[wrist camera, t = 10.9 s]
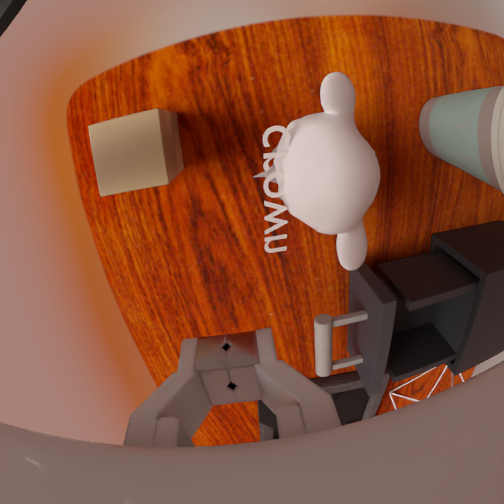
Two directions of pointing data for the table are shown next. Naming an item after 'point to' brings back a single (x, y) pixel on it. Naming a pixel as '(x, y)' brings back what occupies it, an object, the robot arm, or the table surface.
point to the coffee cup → (468, 132)
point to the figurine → (325, 172)
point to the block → (136, 151)
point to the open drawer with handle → (400, 318)
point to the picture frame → (344, 397)
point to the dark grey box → (479, 289)
